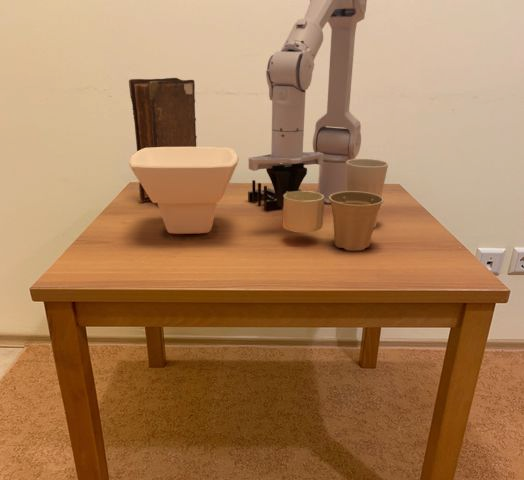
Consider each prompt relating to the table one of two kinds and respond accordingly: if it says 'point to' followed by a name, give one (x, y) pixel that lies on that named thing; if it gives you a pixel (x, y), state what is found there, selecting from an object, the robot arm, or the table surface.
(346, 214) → the flower pot
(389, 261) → the table surface
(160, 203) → the bowl
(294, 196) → the beige mug
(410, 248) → the table surface
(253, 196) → the rack
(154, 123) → the book
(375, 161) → the cup
